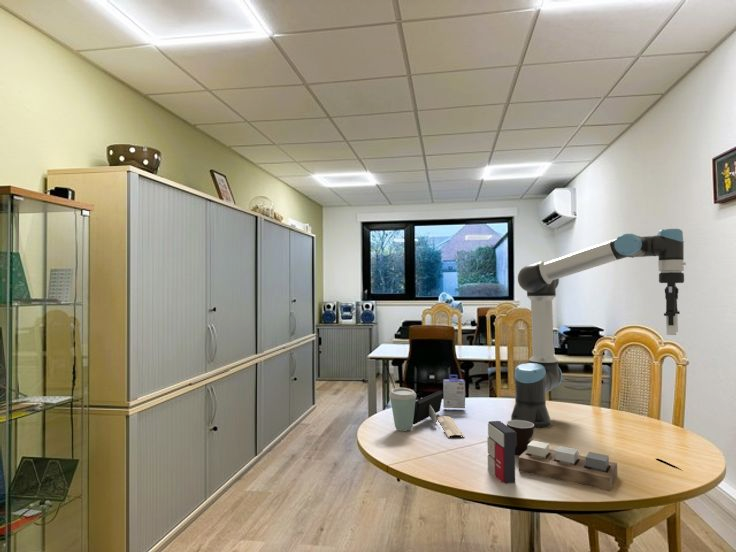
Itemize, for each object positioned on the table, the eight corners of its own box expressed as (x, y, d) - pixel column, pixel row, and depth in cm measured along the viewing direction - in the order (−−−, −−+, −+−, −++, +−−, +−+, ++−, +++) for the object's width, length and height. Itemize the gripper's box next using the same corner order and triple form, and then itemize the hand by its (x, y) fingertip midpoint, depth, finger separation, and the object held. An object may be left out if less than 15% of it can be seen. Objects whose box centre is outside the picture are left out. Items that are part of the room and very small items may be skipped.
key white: (527, 461, 134) (527, 444, 135) (532, 456, 138) (532, 440, 138) (544, 465, 131) (544, 448, 131) (549, 460, 135) (549, 443, 135)
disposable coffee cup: (422, 428, 175) (422, 389, 176) (406, 435, 167) (406, 394, 167) (400, 422, 182) (400, 385, 182) (383, 429, 174) (383, 390, 174)
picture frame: (439, 412, 199) (417, 406, 201) (443, 390, 198) (421, 385, 200) (435, 430, 178) (410, 423, 180) (439, 406, 177) (415, 400, 179)
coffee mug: (521, 461, 142) (520, 429, 142) (501, 452, 150) (500, 422, 150) (546, 454, 147) (546, 424, 147) (526, 446, 155) (526, 417, 155)
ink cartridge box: (464, 405, 207) (464, 374, 208) (465, 409, 202) (465, 376, 202) (443, 405, 209) (442, 373, 209) (443, 408, 203) (443, 376, 203)
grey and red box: (486, 471, 135) (485, 421, 135) (499, 470, 135) (499, 420, 136) (502, 487, 124) (502, 433, 124) (517, 486, 124) (516, 432, 125)
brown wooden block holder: (518, 474, 132) (518, 457, 133) (531, 461, 142) (531, 445, 142) (610, 496, 118) (609, 477, 118) (617, 480, 128) (617, 463, 128)
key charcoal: (585, 475, 125) (585, 457, 125) (589, 469, 129) (589, 451, 129) (605, 479, 122) (605, 461, 122) (609, 473, 126) (608, 455, 126)
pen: (689, 481, 128) (689, 475, 128) (651, 462, 142) (651, 456, 142) (694, 480, 128) (694, 474, 128) (655, 461, 142) (655, 456, 142)
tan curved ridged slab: (464, 439, 164) (464, 434, 164) (445, 439, 164) (445, 434, 164) (451, 420, 188) (451, 415, 188) (434, 420, 188) (434, 416, 188)
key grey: (555, 468, 130) (555, 450, 130) (560, 462, 134) (559, 445, 134) (574, 472, 127) (573, 454, 127) (578, 466, 131) (578, 449, 131)
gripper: (682, 271, 150) (683, 337, 149) (685, 272, 168) (686, 331, 168) (655, 271, 154) (657, 335, 154) (661, 272, 173) (662, 329, 172)
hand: (672, 333), depth 161 cm, fingers open, 11 cm apart
